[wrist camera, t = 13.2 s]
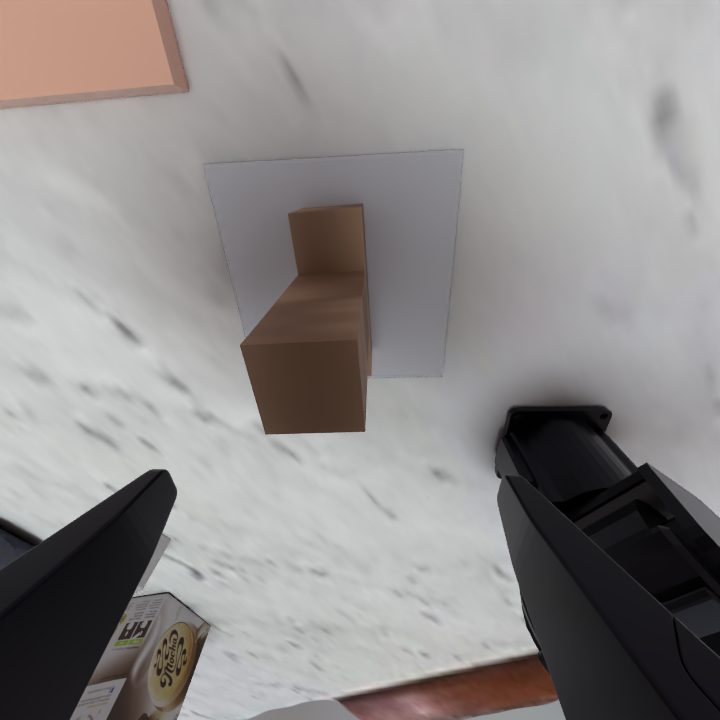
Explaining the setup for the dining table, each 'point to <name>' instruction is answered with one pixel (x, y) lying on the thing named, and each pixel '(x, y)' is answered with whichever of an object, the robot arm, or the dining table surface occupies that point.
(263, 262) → the mat
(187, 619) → the coffee box
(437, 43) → the dining table surface
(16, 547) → the dark grey folded shirt
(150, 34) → the tile
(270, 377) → the brown stepped wooden block
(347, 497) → the dining table surface
